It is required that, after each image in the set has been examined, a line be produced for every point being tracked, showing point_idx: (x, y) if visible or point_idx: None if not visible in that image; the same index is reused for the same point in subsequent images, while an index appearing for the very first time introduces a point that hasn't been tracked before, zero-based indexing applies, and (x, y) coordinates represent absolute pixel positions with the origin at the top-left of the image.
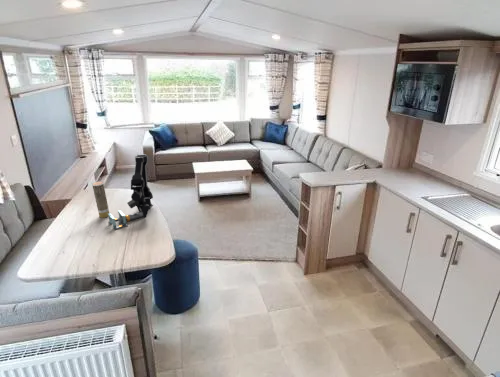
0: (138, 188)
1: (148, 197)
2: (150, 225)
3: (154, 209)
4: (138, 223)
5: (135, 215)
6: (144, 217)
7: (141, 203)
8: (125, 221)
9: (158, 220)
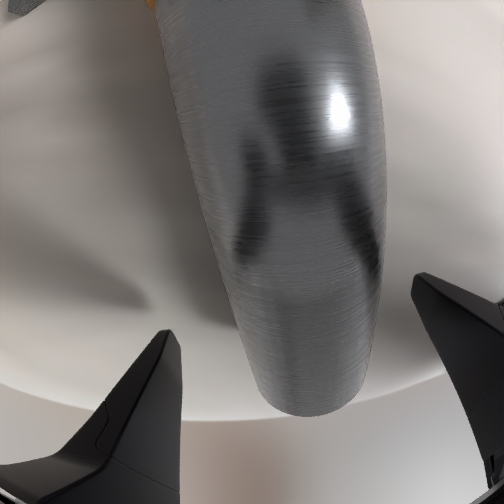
0: None
1: (498, 451)
2: (2, 325)
3: (385, 393)
4: (39, 191)
5: (204, 181)
6: (157, 333)
7: None
8: None
9: (101, 402)
